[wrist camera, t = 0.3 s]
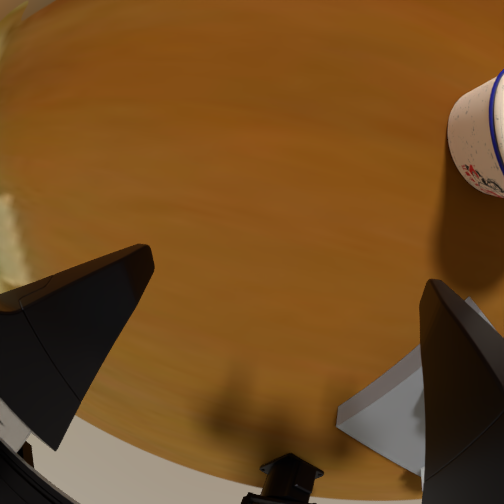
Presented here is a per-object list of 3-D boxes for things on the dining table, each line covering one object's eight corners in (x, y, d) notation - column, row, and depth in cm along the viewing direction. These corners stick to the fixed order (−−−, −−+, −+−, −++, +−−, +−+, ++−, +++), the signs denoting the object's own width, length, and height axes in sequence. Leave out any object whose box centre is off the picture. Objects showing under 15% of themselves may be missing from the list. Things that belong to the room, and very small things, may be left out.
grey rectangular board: (442, 473, 27) (446, 508, 21) (338, 406, 28) (332, 453, 22) (541, 399, 20) (558, 432, 14) (469, 296, 21) (497, 332, 15)
